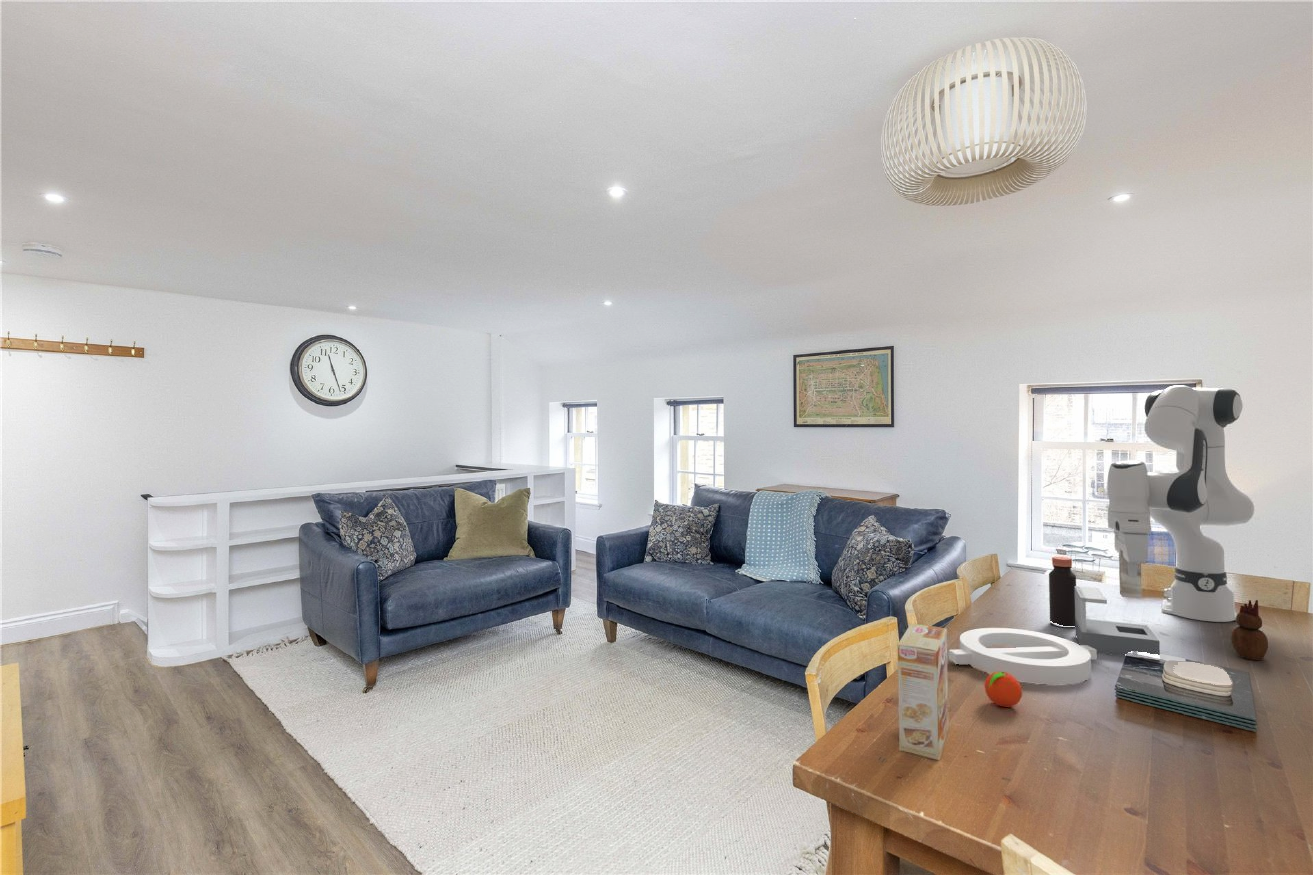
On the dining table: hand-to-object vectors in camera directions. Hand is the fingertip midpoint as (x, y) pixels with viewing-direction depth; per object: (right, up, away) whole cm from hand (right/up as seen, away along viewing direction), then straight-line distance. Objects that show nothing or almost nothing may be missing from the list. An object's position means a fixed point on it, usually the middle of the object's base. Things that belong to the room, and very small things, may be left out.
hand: (1130, 574), depth 159 cm
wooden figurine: (+24, -19, -7) cm, 32 cm away
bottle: (-3, -20, +21) cm, 29 cm away
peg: (0, -6, 0) cm, 6 cm away
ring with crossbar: (-33, -21, -8) cm, 40 cm away
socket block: (-3, -20, +2) cm, 20 cm away
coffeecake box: (-74, -21, -45) cm, 89 cm away
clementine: (-52, -21, -32) cm, 64 cm away
